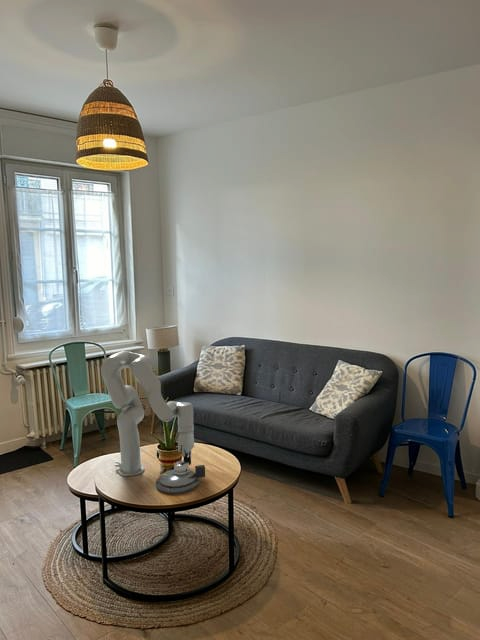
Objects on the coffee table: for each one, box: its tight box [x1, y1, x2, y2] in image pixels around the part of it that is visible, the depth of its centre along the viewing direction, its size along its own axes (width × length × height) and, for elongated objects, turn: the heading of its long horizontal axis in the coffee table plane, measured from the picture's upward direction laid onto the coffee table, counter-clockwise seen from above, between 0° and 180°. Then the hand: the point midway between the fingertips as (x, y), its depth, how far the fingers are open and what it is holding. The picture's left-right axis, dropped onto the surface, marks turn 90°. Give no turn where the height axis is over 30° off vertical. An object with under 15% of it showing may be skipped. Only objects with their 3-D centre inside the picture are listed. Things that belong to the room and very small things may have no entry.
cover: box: [174, 460, 191, 475], centre depth 227 cm, size 8×8×4 cm
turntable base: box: [155, 477, 200, 495], centre depth 222 cm, size 20×20×2 cm
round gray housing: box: [158, 464, 206, 488], centre depth 221 cm, size 20×17×5 cm
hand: (187, 464), depth 233 cm, fingers closed
